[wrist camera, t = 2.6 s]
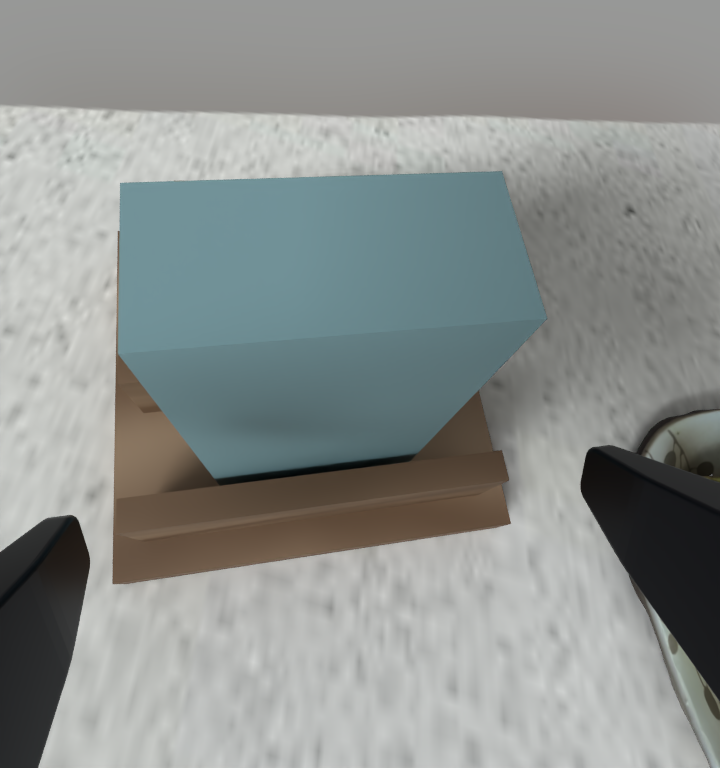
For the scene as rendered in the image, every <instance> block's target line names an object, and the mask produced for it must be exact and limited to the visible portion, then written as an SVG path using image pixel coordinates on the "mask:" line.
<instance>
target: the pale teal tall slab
mask: <svg viewBox="0 0 720 768" xmlns="http://www.w3.org/2000/svg"><path fill="white" fill-rule="evenodd" d="M546 319H547V316H546V313H545V310H544V306H543V303H542V300H541V297H540V293H539V290H538V287H537V284H536V280H535V277H534V274H533V271H532V267H531V264H530V261H529V258H528V254H527V251H526V248H525V245H524V241H523V238H522V235H521V232H520V228H519V225H518V222H517V219H516V215H515V212H514V209H513V206H512V202H511V199H510V196H509V193H508V189H507V186H506V183H505V180H504V177H503V173H502V171H495V172H462V173H430V174H397V175H364V176H331V177H299V178H266V179H233V180H200V181H168V182H135V183H120V239H119V311H118V355H119V356H120V357H121V359H122V360H123V361H124V362H125V364H126V365H127V366H128V368H129V369H130V370H131V371H132V373H133V374H134V375H135V377H136V378H137V379H138V381H139V382H140V383H141V384H142V386H143V387H144V388H145V390H146V391H147V392H148V393H149V395H150V396H151V397H152V399H153V400H154V401H155V403H156V404H157V405H158V406H159V408H160V409H161V410H162V412H163V413H164V414H165V415H166V417H167V418H168V419H169V421H170V422H171V423H172V425H173V426H174V427H175V428H176V430H177V431H178V432H179V434H180V435H181V436H182V438H183V439H184V440H185V441H186V443H187V444H188V445H189V447H190V448H191V449H192V450H193V452H194V453H195V454H196V456H197V457H198V458H199V460H200V461H201V462H202V463H203V465H204V466H205V467H206V469H207V470H208V471H209V472H210V474H211V475H212V476H213V478H214V479H215V480H216V482H217V483H218V484H219V485H220V486H222V485H230V484H238V483H246V482H254V481H262V480H270V479H278V478H286V477H294V476H302V475H310V474H318V473H325V472H333V471H341V470H349V469H357V468H365V467H373V466H381V465H389V464H397V463H405V462H410V461H411V460H412V459H413V458H414V457H415V456H416V455H417V454H418V453H419V451H420V450H421V449H422V448H423V447H424V446H425V445H426V444H427V443H428V442H429V441H430V440H431V439H432V438H433V437H434V436H435V435H436V434H437V433H438V432H439V431H440V430H441V429H442V428H443V427H444V425H445V424H446V423H447V422H448V421H449V420H450V419H451V418H452V417H453V416H454V415H455V414H456V413H457V412H458V411H459V410H460V409H461V408H462V407H463V406H464V405H465V404H466V403H467V402H468V401H469V399H470V398H471V397H472V396H473V395H474V394H475V393H476V392H477V391H478V390H479V389H480V388H481V387H482V386H483V385H484V384H485V383H486V382H487V381H488V380H489V379H490V378H491V377H492V376H493V375H494V373H495V372H496V371H497V370H498V369H499V368H500V367H501V366H502V365H503V364H504V363H505V362H506V361H507V360H508V359H509V358H510V357H511V356H512V355H513V354H514V353H515V352H516V351H517V350H518V349H519V347H520V346H521V345H522V344H523V343H524V342H525V341H526V340H527V339H528V338H529V337H530V336H531V335H532V334H533V333H534V332H535V331H536V330H537V329H538V328H539V327H540V326H541V325H542V324H543V322H544V321H545V320H546Z"/></svg>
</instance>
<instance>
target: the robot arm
mask: <svg viewBox="0 0 720 768" xmlns="http://www.w3.org/2000/svg"><path fill="white" fill-rule="evenodd" d="M581 492H582V495H583V498H584V499H585V501H586V503H587V505H588V506H589V508H590V510H591V512H592V513H593V515H594V517H595V519H596V520H597V522H598V524H599V525H600V527H601V529H602V531H603V532H604V534H605V536H606V538H607V539H608V541H609V543H610V545H611V546H612V548H613V550H614V552H615V553H616V555H617V557H618V558H619V560H620V561H621V563H622V565H623V566H624V568H625V569H626V571H627V572H628V574H629V575H630V577H631V578H632V579H633V581H634V582H635V584H636V585H637V586H638V588H639V589H640V591H641V592H642V593H643V595H644V596H645V598H646V599H647V600H648V602H649V603H650V605H651V606H652V607H653V609H654V610H655V612H656V613H657V615H658V616H659V617H660V619H661V620H662V622H663V623H664V624H665V626H666V627H667V629H668V630H669V631H670V633H671V634H672V636H673V637H674V638H675V640H676V641H677V643H678V644H679V645H680V647H681V648H682V650H683V651H684V652H685V654H686V655H687V657H688V658H689V659H690V661H691V662H692V664H693V665H694V666H695V668H696V669H697V671H698V672H699V673H700V675H701V676H702V678H703V679H704V680H705V682H706V683H707V685H708V686H709V687H710V689H711V690H712V692H713V693H714V694H715V696H716V697H717V699H718V700H719V702H720V483H719V482H716V481H713V480H710V479H708V478H705V477H702V476H699V475H696V474H693V473H690V472H687V471H685V470H682V469H679V468H676V467H673V466H670V465H667V464H664V463H662V462H659V461H656V460H653V459H650V458H647V457H644V456H641V455H639V454H636V453H633V452H630V451H627V450H624V449H621V448H618V447H616V446H612V445H606V446H599V447H592V448H591V449H589V450H588V452H587V454H586V458H585V463H584V468H583V473H582V478H581ZM89 568H90V557H89V552H88V549H87V546H86V543H85V540H84V536H83V533H82V530H81V527H80V524H79V521H78V520H77V518H76V517H74V516H72V515H67V516H59V517H51V518H47V519H45V520H43V521H42V522H40V523H39V524H38V525H36V526H35V527H33V528H32V529H31V530H29V531H28V532H27V533H25V534H24V535H23V536H21V537H20V538H19V539H17V540H16V541H14V542H13V543H12V544H10V545H9V546H8V547H6V548H5V549H4V550H2V551H1V552H0V768H38V766H39V763H40V760H41V757H42V754H43V750H44V747H45V744H46V741H47V738H48V735H49V731H50V728H51V725H52V722H53V719H54V715H55V712H56V709H57V706H58V703H59V700H60V696H61V693H62V690H63V687H64V684H65V681H66V677H67V674H68V670H69V667H70V663H71V660H72V655H73V651H74V646H75V641H76V636H77V631H78V626H79V621H80V615H81V610H82V605H83V600H84V595H85V590H86V584H87V579H88V574H89Z"/></svg>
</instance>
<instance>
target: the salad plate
mask: <svg viewBox="0 0 720 768" xmlns="http://www.w3.org/2000/svg"><path fill="white" fill-rule="evenodd" d="M636 454H639V455H641V456H644V457H647V458H650V459H653V460H656V461H659V462H662V463H664V464H667V465H670V466H673V467H676V468H679V469H682V470H685V471H687V472H690V473H693V474H696V475H699V476H702V477H705V478H708V479H710V480H713V481H716V482H719V483H720V409H715V410H699V411H693V412H690V413H688V414H685V415H681V416H676V417H670V418H666V419H664V420H662V421H660V422H659V423H657V424H656V425H655V426H654V427H653V428H652V429H651V430H650V431H649V433H648V434H647V436H646V437H645V438H644V440H643V442H642V444H641V445H640V447H639V449H638V451H637V453H636ZM711 474H713V476H709V475H711ZM629 577H630V575H629ZM630 580H631V583H632V585H633V587H634V589H635V592H636V594H637V596H638V597H639V599H640V601H641V602H642V604H643V606H644V607H645V609H646V611H647V613H648V615H649V617H650V620H651V623H652V626H653V628H654V631H655V634H656V636H657V639H658V641H659V644H660V647H661V651H662V654H663V658H664V662H665V664H666V667H667V669H668V672H669V675H670V679H671V683H672V686H673V688H674V690H675V693H676V695H677V698H678V700H679V702H680V705H681V707H682V709H683V711H684V713H685V715H686V717H687V718H688V720H689V722H690V724H691V726H692V729H693V731H694V733H695V735H696V737H697V740H698V742H699V744H700V746H701V748H702V750H703V752H704V754H705V756H706V758H707V760H708V763H709V765H710V768H720V702H719V700H718V699H717V697H716V696H715V694H714V693H713V692H712V690H711V689H710V687H709V686H708V685H707V683H706V682H705V680H704V679H703V678H702V676H701V675H700V673H699V672H698V671H697V669H696V668H695V666H694V665H693V664H692V662H691V661H690V659H689V658H688V657H687V655H686V654H685V652H684V651H683V650H682V648H681V647H680V645H679V644H678V643H677V641H676V640H675V638H674V637H673V636H672V634H671V633H670V631H669V630H668V629H667V627H666V626H665V624H664V623H663V622H662V620H661V619H660V617H659V616H658V615H657V613H656V612H655V610H654V609H653V607H652V606H651V605H650V603H649V602H648V600H647V599H646V598H645V596H644V595H643V593H642V592H641V591H640V589H639V588H638V586H637V585H636V584H635V582H634V581H633V579H632V578H631V577H630Z"/></svg>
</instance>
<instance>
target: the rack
mask: <svg viewBox="0 0 720 768" xmlns="http://www.w3.org/2000/svg"><path fill="white" fill-rule="evenodd" d="M119 239H120V231H118V262H117V328H116V393H115V459H114V525H113V584H129V583H136V582H142V581H149V580H155V579H162V578H168V577H175V576H182V575H188V574H195V573H201V572H208V571H214V570H221V569H228V568H234V567H241V566H247V565H254V564H260V563H267V562H274V561H280V560H287V559H293V558H300V557H306V556H313V555H320V554H326V553H333V552H339V551H346V550H352V549H359V548H366V547H372V546H379V545H385V544H392V543H398V542H405V541H412V540H418V539H425V538H431V537H438V536H444V535H451V534H458V533H464V532H471V531H477V530H484V529H490V528H497V527H500V526H504V525H508V524H511V522H510V518H509V514H508V510H507V505H506V501H505V497H504V493H503V489H502V485H501V484H503V483H505V482H507V481H509V477H508V473H507V469H506V465H505V461H504V457H503V453H502V450H500V451H493V448H492V444H491V440H490V436H489V431H488V427H487V423H486V419H485V415H484V411H483V407H482V403H481V399H480V395H479V390H478V391H477V392H476V393H475V394H474V395H473V396H472V397H471V398H470V399H469V401H468V402H467V403H466V404H465V405H464V406H463V407H462V408H461V409H460V410H459V411H458V412H457V413H456V414H455V415H454V416H453V417H452V418H451V419H450V420H449V421H448V422H447V423H446V424H445V425H444V427H443V428H442V429H441V430H440V431H439V432H438V433H437V434H436V435H435V436H434V437H433V438H432V439H431V440H430V441H429V442H428V443H427V444H426V445H425V446H424V447H423V448H422V449H421V450H420V451H419V453H418V454H417V455H416V456H415V457H414V458H413V459H412V460H411V461H410V462H405V463H397V464H389V465H381V466H373V467H365V468H357V469H349V470H341V471H333V472H325V473H318V474H310V475H302V476H294V477H286V478H278V479H270V480H262V481H254V482H246V483H238V484H230V485H222V486H220V485H219V484H218V483H217V482H216V480H215V479H214V478H213V476H212V475H211V474H210V472H209V471H208V470H207V469H206V467H205V466H204V465H203V463H202V462H201V461H200V460H199V458H198V457H197V456H196V454H195V453H194V452H193V450H192V449H191V448H190V447H189V445H188V444H187V443H186V441H185V440H184V439H183V438H182V436H181V435H180V434H179V432H178V431H177V430H176V428H175V427H174V426H173V425H172V423H171V422H170V421H169V419H168V418H167V417H166V415H165V414H164V413H163V412H162V410H161V409H160V408H159V406H158V405H157V404H156V403H155V401H154V400H153V399H152V397H151V396H150V395H149V393H148V392H147V391H146V390H145V388H144V387H143V386H142V384H141V383H140V382H139V381H138V379H137V378H136V377H135V375H134V374H133V373H132V371H131V370H130V369H129V368H128V366H127V365H126V364H125V362H124V361H123V360H122V359H121V357H120V356H119V355H118V311H119Z"/></svg>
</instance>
